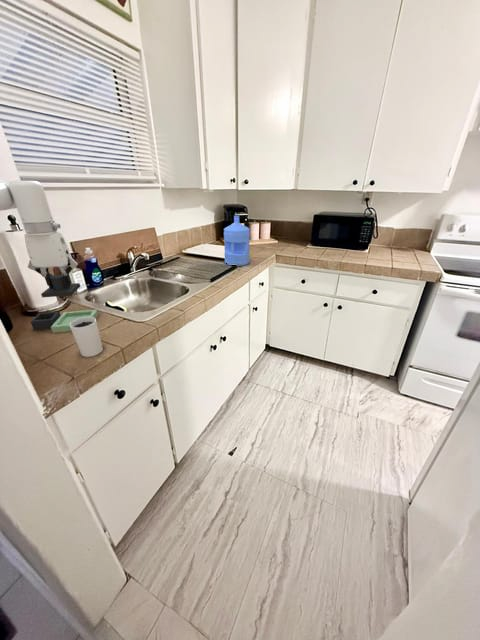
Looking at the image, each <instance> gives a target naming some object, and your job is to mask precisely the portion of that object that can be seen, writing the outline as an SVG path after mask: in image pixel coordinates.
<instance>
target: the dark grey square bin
mask: <svg viewBox="0 0 480 640" xmlns="http://www.w3.org/2000/svg"><path fill="white" fill-rule="evenodd" d="M61 315H62V314H61V313H60V311H50V312H39V313H37V314H36V316H35V317H33V318H32V319H31V320H30V321H29V322H30V325H31V328H32V329H33V331H43V330H44V331H45V330H52V329H51V326H52V325H53V324H54V323H55V322H56V321H57V319H58V318H59V317H60V316H61Z"/></svg>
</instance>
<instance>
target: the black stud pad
mask: <svg viewBox="0 0 480 640" xmlns="http://www.w3.org/2000/svg"><path fill="white" fill-rule="evenodd" d="M62 276H63V275H62V274H56V275H53V276H51V277H50V279H51V282H52V284H53V287H54V288H53V289H50V288H49V287H48V288H47V289H45V290H44V291H43V292H42V293H40V295H41V298H55V297H70V296H73V295H74V294H75V293H76V292H77V291H78V290H79V289H80V287H81V283H80V282H77V283H76V282H75V283H71V286H70V287H68V288H65V286H64V283H63V280H62Z"/></svg>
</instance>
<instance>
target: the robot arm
mask: <svg viewBox="0 0 480 640" xmlns="http://www.w3.org/2000/svg"><path fill="white" fill-rule="evenodd" d="M13 209H17V212H18V215H19V217H20V220H21V223H22V226H23V228H24V231H25V233H24V241H25V248H26V252H27V256H28V258H29V262H28V263H27V268H28V269H29V270H32V271H34V272H35V273H38V274H39V275H41V277H43V278H44V280H45V283H46V286H48V288H50V289H53V288H54V287H53V284H52V282H51V279H50V277H51V276H54V275H53V274H52V273H51V272H50V268H58V270H60V272H61V275H63V276H62V280H63V283H64V286H65V288H68V287H70V286H71V284H73V283H72V279H71V276H70V273H71V272H72V270H73V269H75V268H76V267H77V266H78V265H79V263H78V262H77V261H76V260H75V259H74V258H73V257H72V254H71V251H70V249H69V246H68V244H67V242H66V240H65V237H64V235H63V234H62V232H61V231H58V229H61V224H60V223H57V222H56V221H55V220H54V217H53V214H52V211H51V208H50V205H49V201H48V198H47V195H46V192H45V189H44V186H43V185H42V183H40V181H37V180H11V181H10V180H4V179H0V212H1V211H7V210H8V211H9V210H13Z"/></svg>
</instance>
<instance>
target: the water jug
mask: <svg viewBox="0 0 480 640" xmlns="http://www.w3.org/2000/svg"><path fill="white" fill-rule="evenodd" d="M250 231H251V230H250V228H249V227H248V226H246V225H244V224H242V223H241V222H240V215H233V223H232V224H230V225H228V226H226V227H224V228H223V241H224V263H225V265H226V266H230V267H232V266H231V265H230V264H236V266H235V267H244V266H247V265H249V264H250V249H251V247H250V236H251V232H250ZM226 263H227V264H226Z"/></svg>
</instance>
